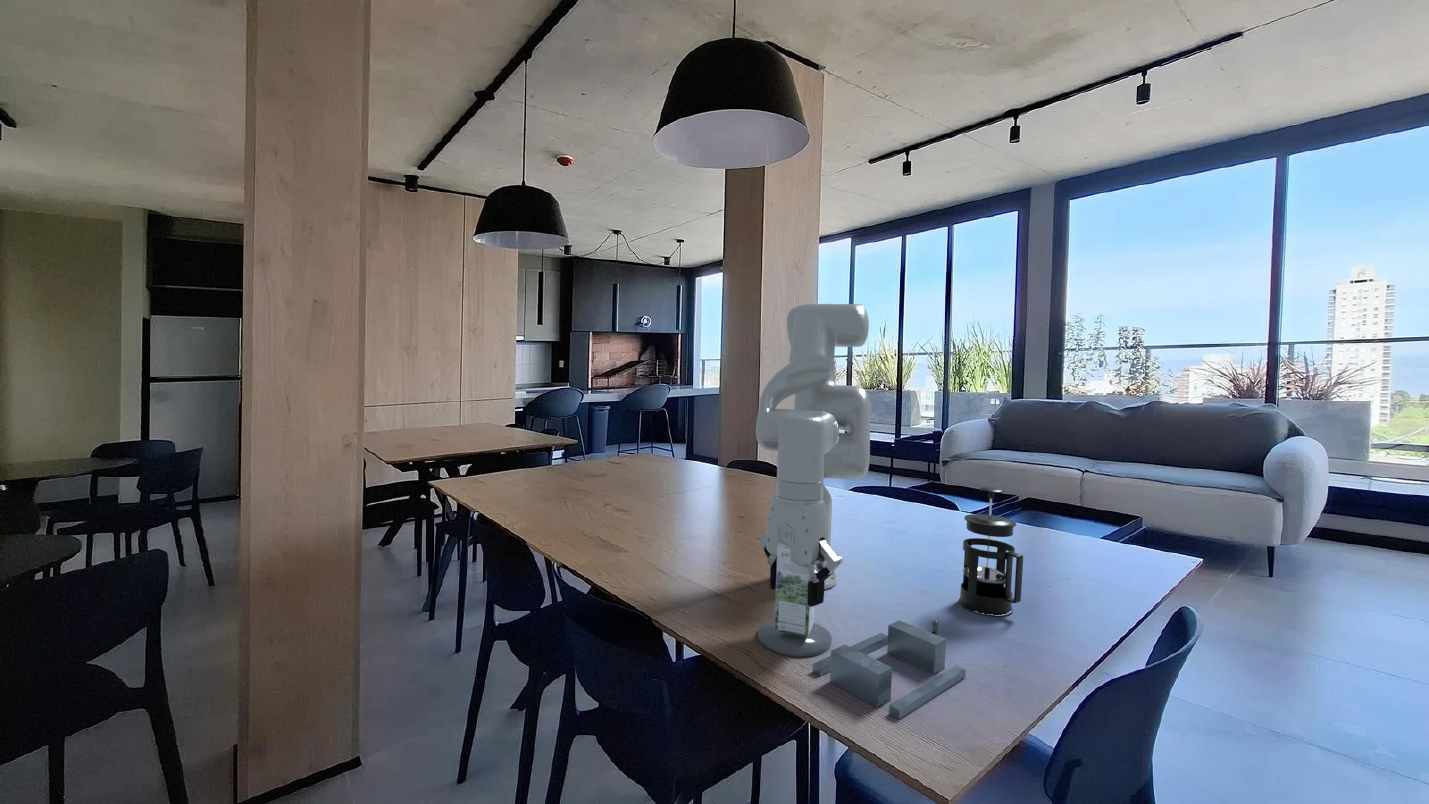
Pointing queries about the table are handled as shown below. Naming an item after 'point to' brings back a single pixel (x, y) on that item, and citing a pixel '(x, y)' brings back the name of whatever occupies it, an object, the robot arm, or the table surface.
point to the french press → (986, 583)
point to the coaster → (794, 641)
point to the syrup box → (792, 595)
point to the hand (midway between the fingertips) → (795, 595)
